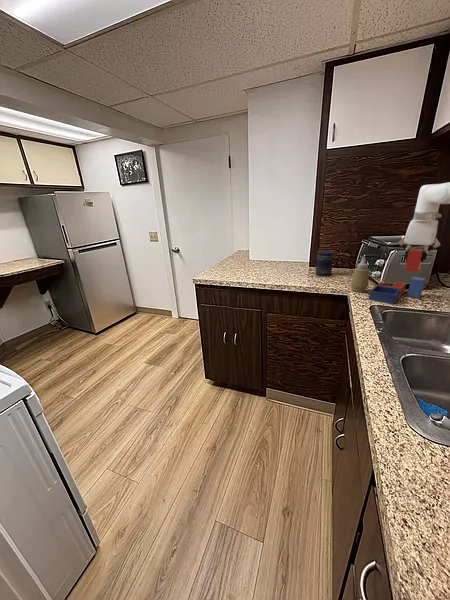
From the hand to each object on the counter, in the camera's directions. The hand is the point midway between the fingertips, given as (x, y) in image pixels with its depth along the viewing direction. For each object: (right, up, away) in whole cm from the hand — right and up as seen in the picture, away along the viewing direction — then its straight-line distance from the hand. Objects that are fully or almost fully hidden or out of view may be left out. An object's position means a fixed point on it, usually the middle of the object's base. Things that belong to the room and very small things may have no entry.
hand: (414, 260), depth 109 cm
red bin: (+2, -13, +19) cm, 23 cm away
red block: (0, -4, +2) cm, 4 cm away
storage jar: (-19, -1, +54) cm, 57 cm away
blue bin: (-7, -17, +11) cm, 21 cm away
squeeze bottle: (-12, -13, +23) cm, 29 cm away
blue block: (+9, -16, +12) cm, 22 cm away
